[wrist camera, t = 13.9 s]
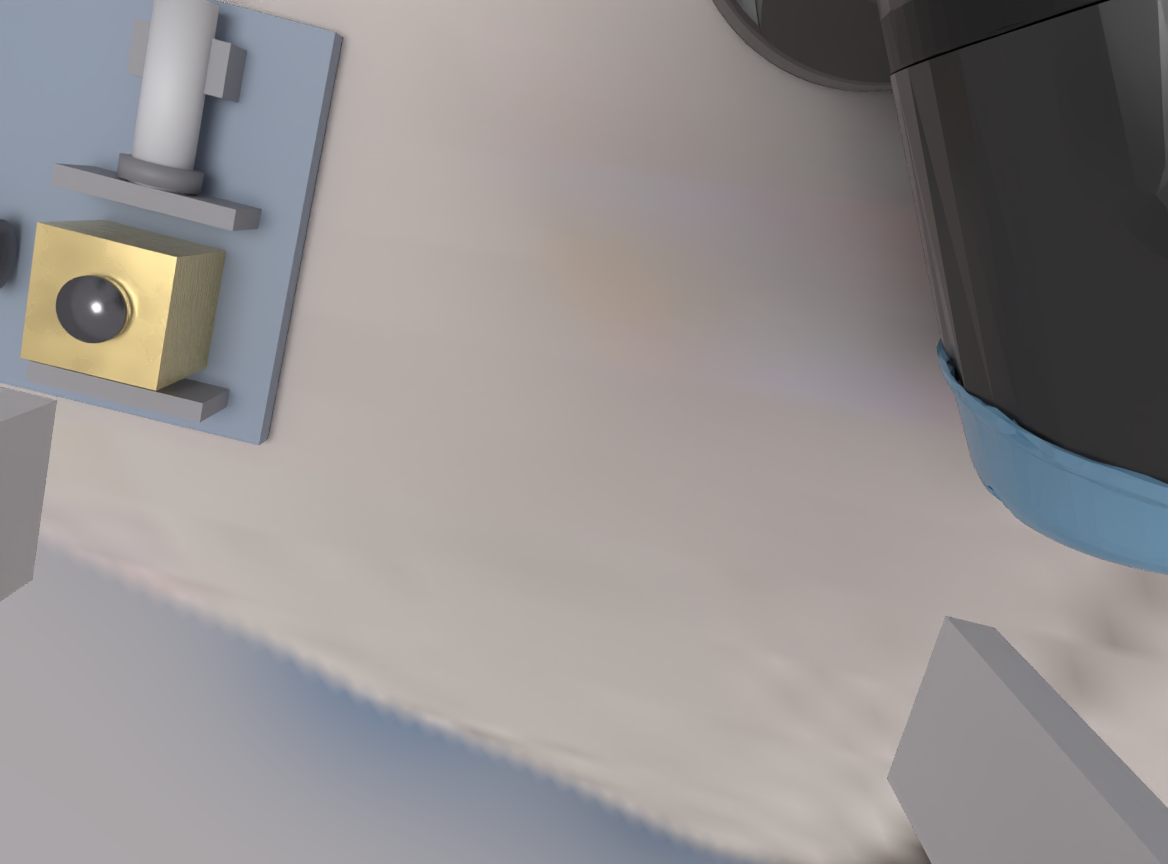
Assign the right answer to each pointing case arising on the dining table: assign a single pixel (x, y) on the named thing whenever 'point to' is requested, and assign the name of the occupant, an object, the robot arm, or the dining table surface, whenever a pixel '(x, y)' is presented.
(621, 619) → the dining table surface
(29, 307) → the block
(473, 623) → the dining table surface
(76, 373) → the shaft bench
